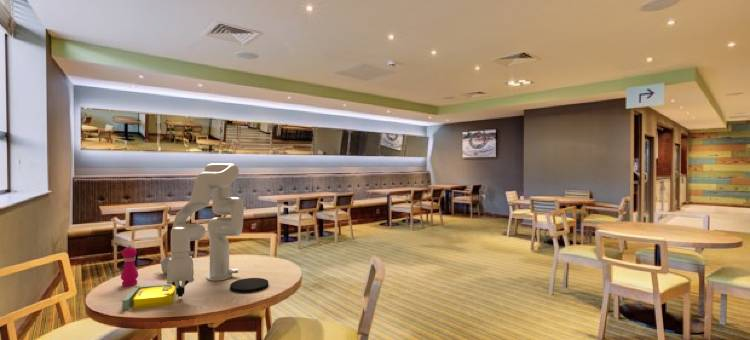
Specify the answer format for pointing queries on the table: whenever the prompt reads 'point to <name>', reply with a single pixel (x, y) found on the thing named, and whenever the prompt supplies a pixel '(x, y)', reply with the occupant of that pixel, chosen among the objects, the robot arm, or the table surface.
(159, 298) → the element tile
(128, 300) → the corner stop
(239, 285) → the wireless charger
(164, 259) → the teacup
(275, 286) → the table surface
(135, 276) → the pepper mill
